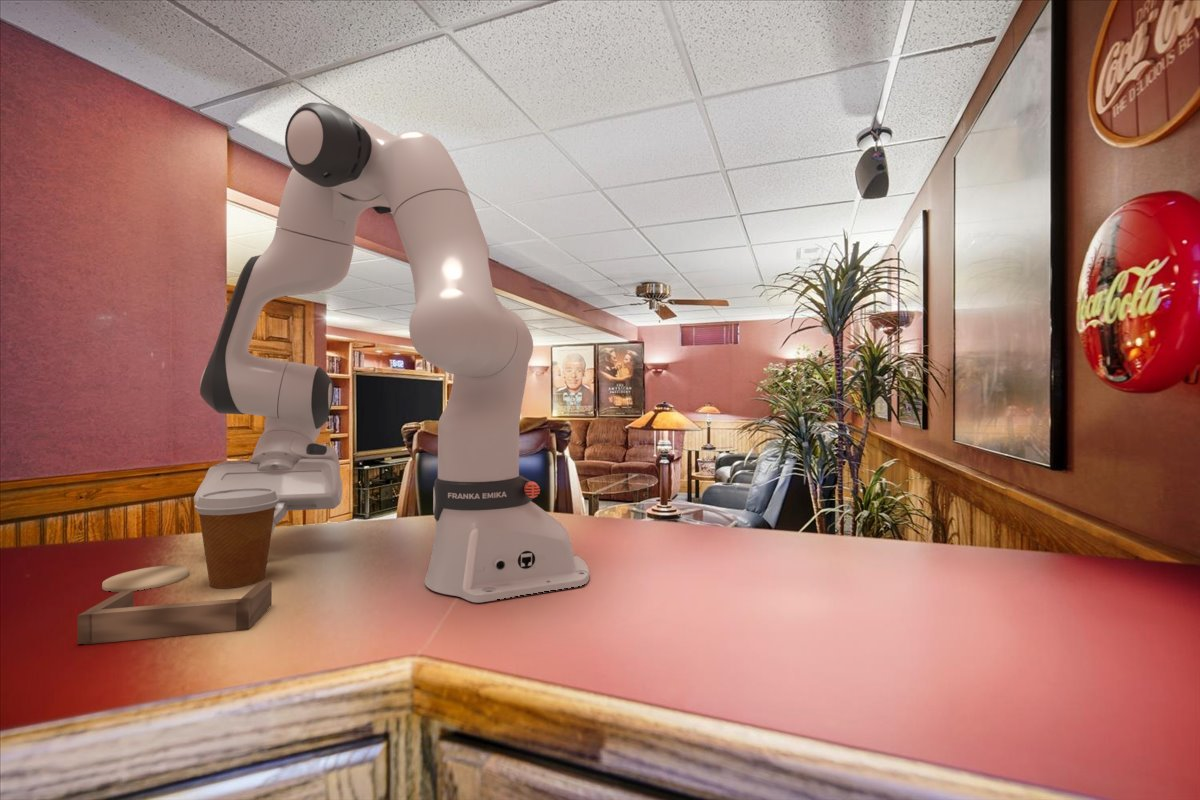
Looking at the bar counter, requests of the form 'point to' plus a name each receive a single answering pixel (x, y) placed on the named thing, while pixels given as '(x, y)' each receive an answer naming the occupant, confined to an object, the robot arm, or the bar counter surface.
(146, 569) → the cork coaster
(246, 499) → the disposable coffee cup
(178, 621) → the walnut bay
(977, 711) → the bar counter surface
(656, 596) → the bar counter surface
